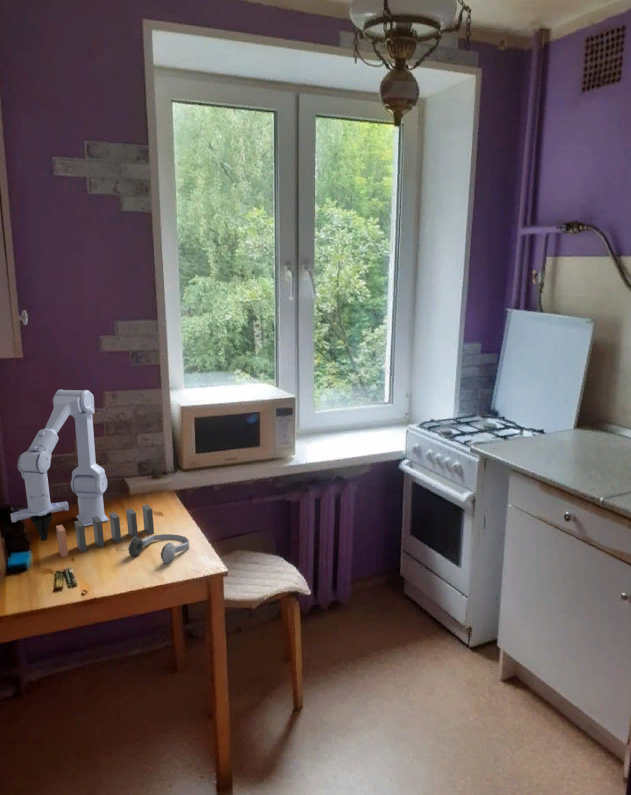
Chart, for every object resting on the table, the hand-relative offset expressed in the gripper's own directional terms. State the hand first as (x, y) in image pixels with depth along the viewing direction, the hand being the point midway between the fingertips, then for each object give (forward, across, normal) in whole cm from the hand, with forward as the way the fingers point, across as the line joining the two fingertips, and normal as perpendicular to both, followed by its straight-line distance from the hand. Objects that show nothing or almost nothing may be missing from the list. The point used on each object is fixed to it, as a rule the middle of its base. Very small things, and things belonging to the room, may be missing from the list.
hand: (43, 539), depth 170 cm
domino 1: (+6, +5, 0) cm, 8 cm away
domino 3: (+6, +15, 0) cm, 16 cm away
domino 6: (+6, +30, 0) cm, 30 cm away
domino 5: (+6, +25, 0) cm, 25 cm away
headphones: (+6, +26, -15) cm, 31 cm away
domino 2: (+6, +10, 0) cm, 11 cm away
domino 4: (+6, +20, 0) cm, 21 cm away
